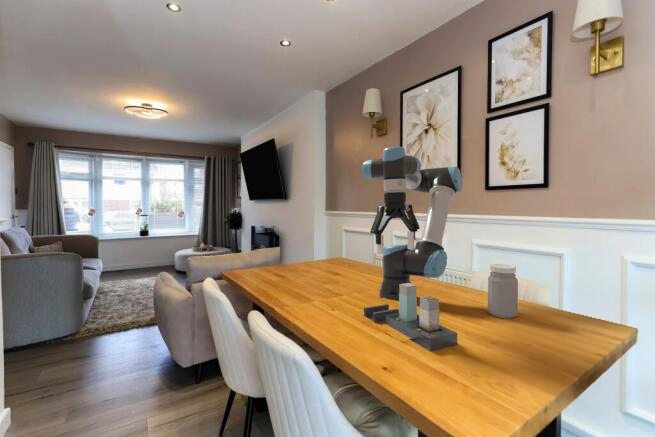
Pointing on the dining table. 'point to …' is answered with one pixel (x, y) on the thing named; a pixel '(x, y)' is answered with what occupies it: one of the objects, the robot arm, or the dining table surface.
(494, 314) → the jar
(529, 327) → the dining table surface
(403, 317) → the plug
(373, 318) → the holster
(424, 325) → the port block
